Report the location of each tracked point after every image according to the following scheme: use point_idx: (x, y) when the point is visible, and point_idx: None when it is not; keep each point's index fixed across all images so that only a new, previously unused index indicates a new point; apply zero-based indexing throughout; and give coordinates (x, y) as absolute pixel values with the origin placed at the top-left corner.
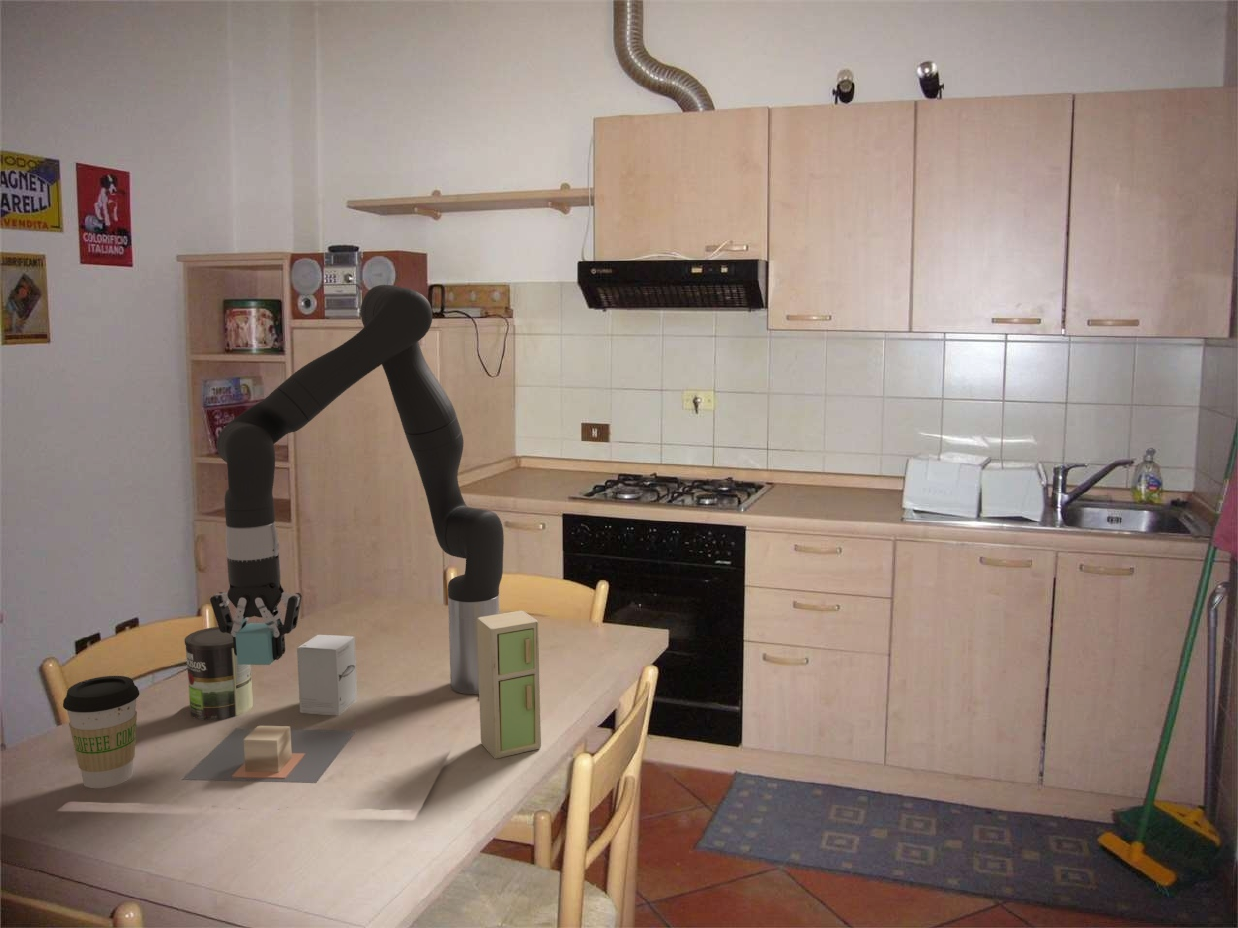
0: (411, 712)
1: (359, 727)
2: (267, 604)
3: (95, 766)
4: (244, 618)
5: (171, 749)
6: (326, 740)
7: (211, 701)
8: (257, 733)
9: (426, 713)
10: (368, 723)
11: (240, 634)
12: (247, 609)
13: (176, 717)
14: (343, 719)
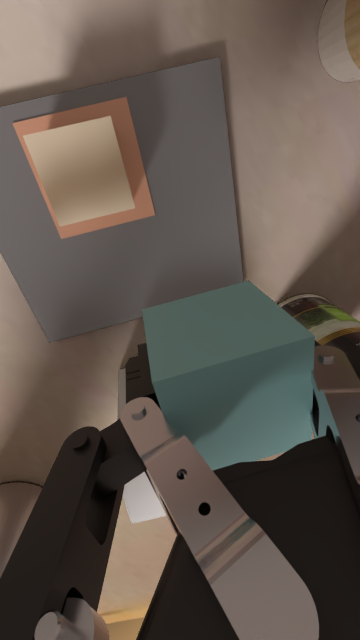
0: (36, 422)
1: (72, 362)
2: (207, 586)
3: None
4: (327, 433)
5: (311, 205)
6: (68, 297)
7: (311, 315)
8: (103, 164)
9: (12, 427)
10: (69, 376)
11: (286, 339)
12: (340, 488)
13: (352, 303)
14: (115, 374)
